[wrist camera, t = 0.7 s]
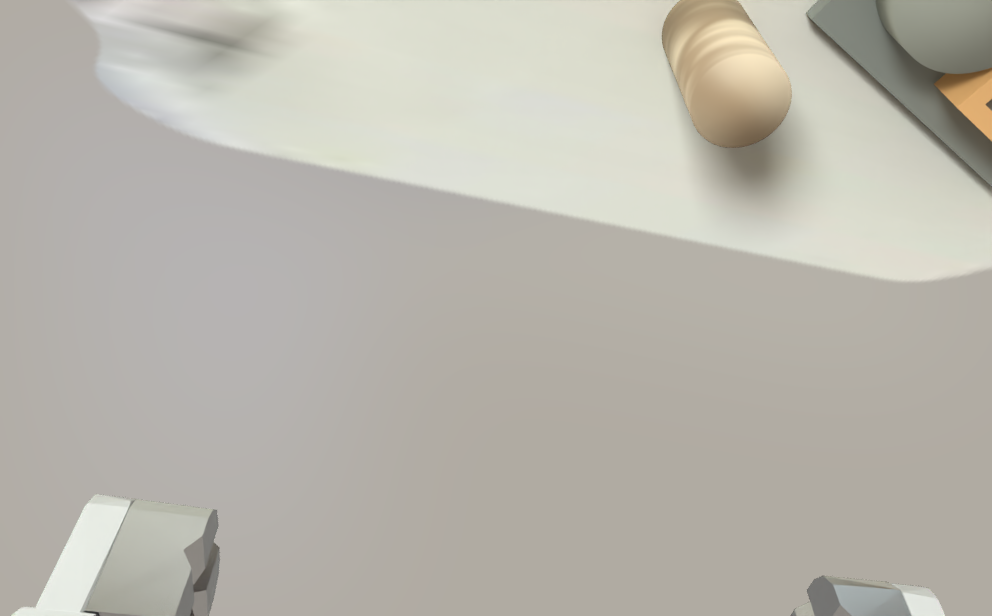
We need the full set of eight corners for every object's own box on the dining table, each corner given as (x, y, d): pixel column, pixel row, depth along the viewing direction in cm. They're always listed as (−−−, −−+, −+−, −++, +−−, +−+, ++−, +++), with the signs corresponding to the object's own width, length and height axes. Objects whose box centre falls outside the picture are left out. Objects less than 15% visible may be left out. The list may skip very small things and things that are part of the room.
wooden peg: (705, -29, 44) (744, 33, 37) (764, 24, 46) (812, 94, 39) (644, 39, 46) (670, 110, 39) (703, 87, 48) (738, 165, 41)
